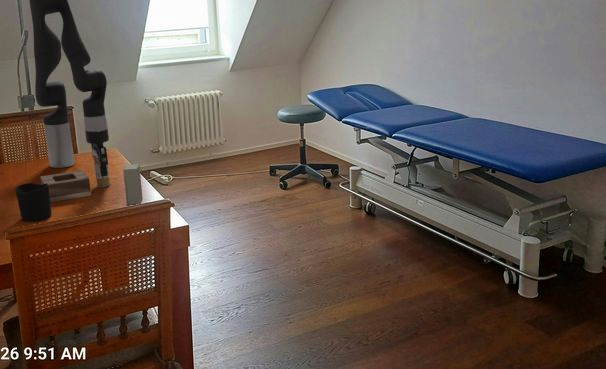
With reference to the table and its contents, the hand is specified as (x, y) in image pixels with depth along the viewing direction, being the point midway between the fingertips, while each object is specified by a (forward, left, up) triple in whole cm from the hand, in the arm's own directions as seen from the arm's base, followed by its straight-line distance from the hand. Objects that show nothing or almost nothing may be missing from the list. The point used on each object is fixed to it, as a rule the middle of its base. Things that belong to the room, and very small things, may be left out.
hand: (101, 173), depth 224 cm
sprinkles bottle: (0, 0, -5) cm, 5 cm away
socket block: (+3, -13, -5) cm, 14 cm away
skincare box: (+24, +5, -5) cm, 25 cm away
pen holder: (+22, -25, -5) cm, 34 cm away
